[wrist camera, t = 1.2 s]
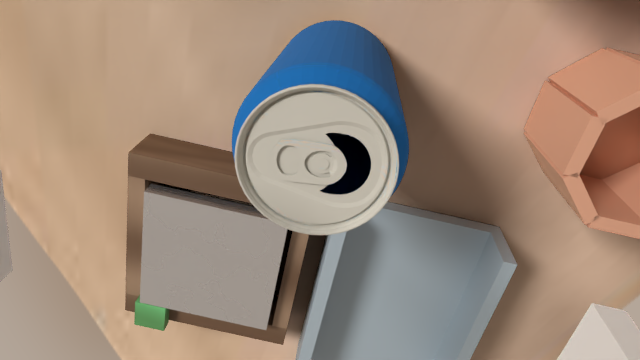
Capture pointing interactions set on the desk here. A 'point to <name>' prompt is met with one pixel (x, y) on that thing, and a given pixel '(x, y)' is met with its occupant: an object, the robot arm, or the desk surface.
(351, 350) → the trough
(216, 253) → the grey flat square plate
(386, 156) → the beverage can
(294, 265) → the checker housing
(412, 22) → the desk surface
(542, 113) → the cup
